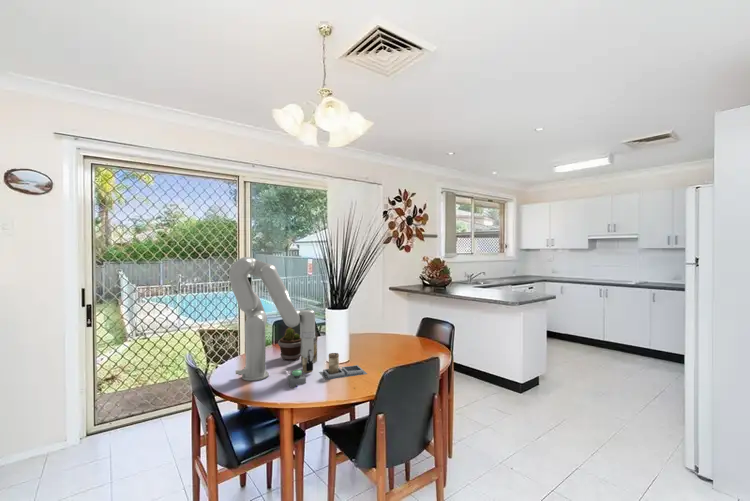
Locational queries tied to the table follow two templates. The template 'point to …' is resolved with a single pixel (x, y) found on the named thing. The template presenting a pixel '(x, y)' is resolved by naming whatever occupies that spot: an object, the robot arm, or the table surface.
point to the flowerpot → (290, 345)
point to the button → (296, 373)
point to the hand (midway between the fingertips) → (307, 367)
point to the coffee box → (314, 350)
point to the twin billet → (333, 363)
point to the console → (296, 380)
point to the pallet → (343, 372)
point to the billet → (305, 365)
